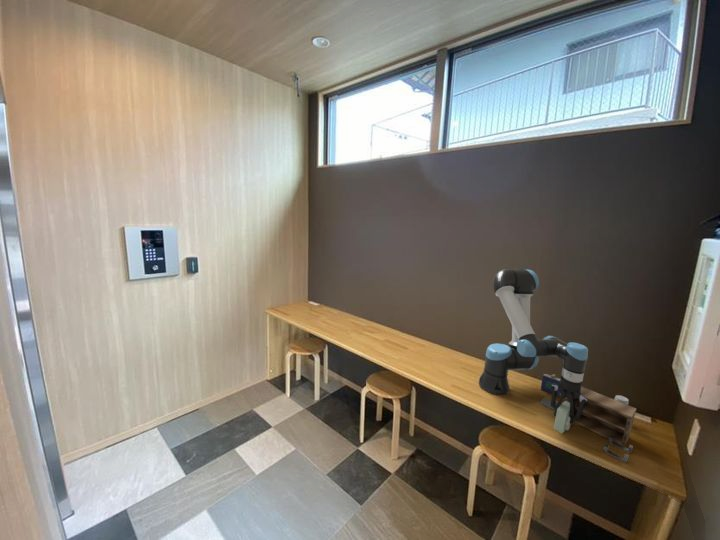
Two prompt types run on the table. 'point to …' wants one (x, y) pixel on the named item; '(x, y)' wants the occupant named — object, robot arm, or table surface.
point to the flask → (549, 383)
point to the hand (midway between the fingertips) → (562, 426)
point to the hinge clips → (618, 447)
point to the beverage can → (621, 399)
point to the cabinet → (605, 416)
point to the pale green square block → (562, 417)
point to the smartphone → (547, 403)
